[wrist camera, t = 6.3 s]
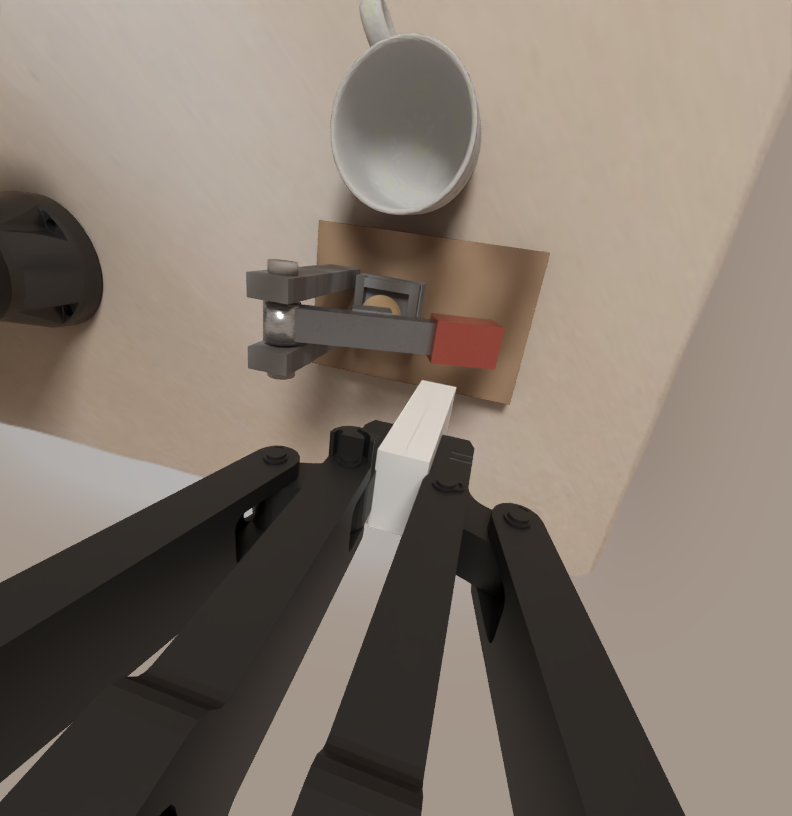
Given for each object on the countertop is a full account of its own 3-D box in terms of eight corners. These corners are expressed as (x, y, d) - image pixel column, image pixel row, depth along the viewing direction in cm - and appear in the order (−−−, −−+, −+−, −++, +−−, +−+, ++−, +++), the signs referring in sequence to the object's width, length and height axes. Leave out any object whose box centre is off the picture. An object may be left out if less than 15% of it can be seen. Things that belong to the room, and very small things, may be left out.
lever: (270, 331, 32) (258, 347, 28) (270, 290, 31) (258, 300, 27) (477, 352, 35) (494, 369, 30) (485, 315, 33) (505, 327, 29)
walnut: (365, 328, 38) (352, 336, 35) (369, 289, 37) (356, 294, 33) (402, 335, 37) (392, 344, 34) (407, 296, 36) (397, 301, 33)
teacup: (486, 211, 36) (481, 202, 28) (370, 228, 38) (339, 223, 31) (480, 12, 31) (472, -60, 24) (349, 48, 34) (306, -6, 27)
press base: (319, 358, 45) (231, 410, 30) (327, 221, 39) (223, 205, 25) (509, 397, 41) (510, 478, 27) (547, 252, 35) (575, 255, 21)
